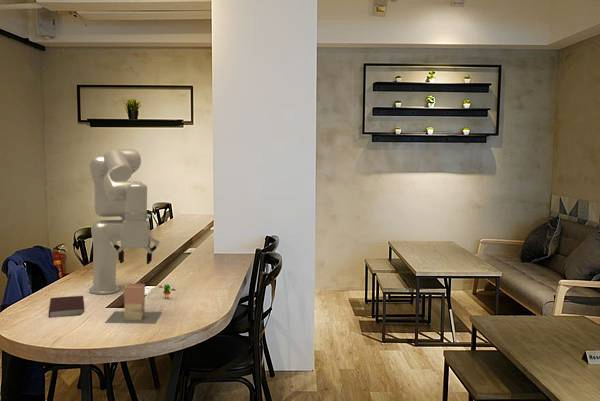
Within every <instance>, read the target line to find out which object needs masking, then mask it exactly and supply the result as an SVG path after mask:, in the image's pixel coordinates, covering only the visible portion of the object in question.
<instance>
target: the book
mask: <svg viewBox="0 0 600 401" xmlns="http://www.w3.org/2000/svg"><path fill="white" fill-rule="evenodd" d="M84 302H85V300H84V295H72V296H59V297H51V298H50V300H49V307H48V318H58V317H61V318H62V317H74V316H75V317H76V316H78V317H79V316H81V315H83V314H84V313H85V303H84Z"/></svg>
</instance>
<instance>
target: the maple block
mask: <svg viewBox="0 0 600 401" xmlns="http://www.w3.org/2000/svg"><path fill="white" fill-rule="evenodd" d="M145 301H146V300H144V301H143V302H142V303H141V304H124V310H123V311H124V320H141V319H142V318H143V316H144V312H146V311H145V307H146V306H145V303H146V302H145Z"/></svg>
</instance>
